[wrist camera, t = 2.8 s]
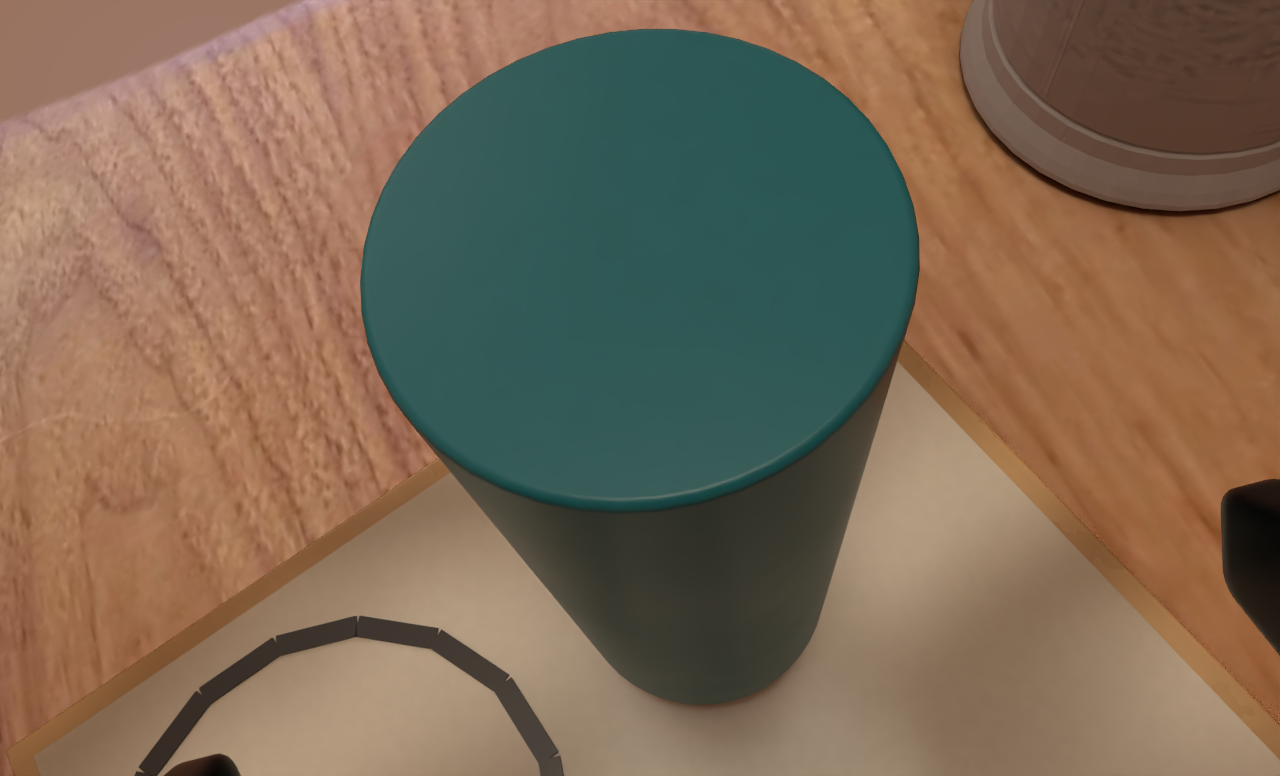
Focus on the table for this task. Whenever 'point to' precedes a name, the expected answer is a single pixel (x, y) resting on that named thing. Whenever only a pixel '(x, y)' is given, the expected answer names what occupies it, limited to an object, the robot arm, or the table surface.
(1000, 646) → the drawing board
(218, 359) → the table surface
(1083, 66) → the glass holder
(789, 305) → the cylinder
